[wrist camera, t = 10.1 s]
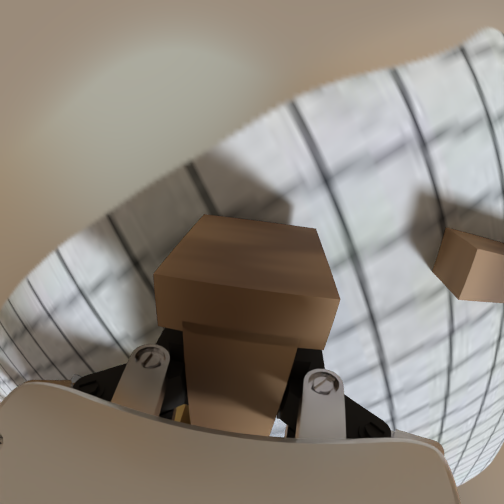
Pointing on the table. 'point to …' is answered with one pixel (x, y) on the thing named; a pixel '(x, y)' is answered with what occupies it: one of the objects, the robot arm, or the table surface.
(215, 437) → the robot arm
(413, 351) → the table surface
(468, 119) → the table surface
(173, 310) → the mallet
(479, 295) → the tan rectangular bar
